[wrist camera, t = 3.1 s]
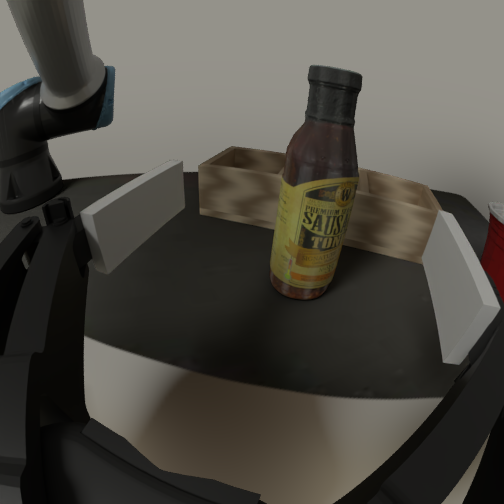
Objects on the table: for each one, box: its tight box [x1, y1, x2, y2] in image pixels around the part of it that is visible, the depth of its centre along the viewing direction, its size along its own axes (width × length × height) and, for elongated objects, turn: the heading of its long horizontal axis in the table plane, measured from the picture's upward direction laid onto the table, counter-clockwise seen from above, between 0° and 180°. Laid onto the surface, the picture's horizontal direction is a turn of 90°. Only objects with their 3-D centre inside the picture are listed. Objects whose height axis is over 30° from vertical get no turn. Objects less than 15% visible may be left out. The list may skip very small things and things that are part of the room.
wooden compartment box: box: [198, 146, 443, 264], centre depth 38 cm, size 31×11×7 cm, turn 71°
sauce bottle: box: [269, 65, 362, 300], centre depth 23 cm, size 7×6×20 cm
